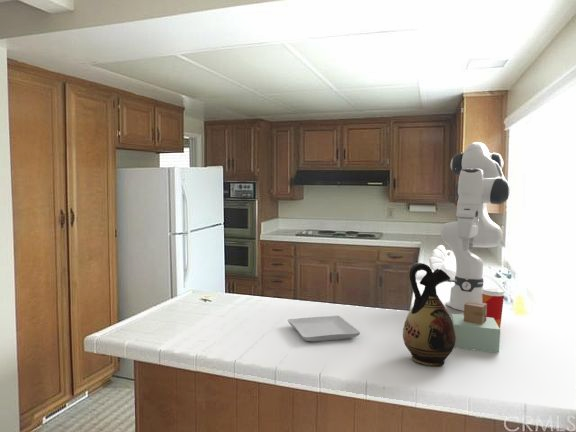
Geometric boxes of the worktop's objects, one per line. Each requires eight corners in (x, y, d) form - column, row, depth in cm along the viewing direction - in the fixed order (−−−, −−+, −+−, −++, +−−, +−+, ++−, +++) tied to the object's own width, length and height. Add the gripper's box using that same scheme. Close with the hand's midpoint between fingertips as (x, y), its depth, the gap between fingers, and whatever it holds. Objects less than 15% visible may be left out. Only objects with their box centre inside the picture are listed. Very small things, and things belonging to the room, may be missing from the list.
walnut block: (468, 317, 157) (468, 300, 157) (486, 320, 153) (487, 303, 153) (463, 321, 152) (464, 304, 152) (482, 324, 149) (483, 307, 148)
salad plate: (303, 346, 147) (303, 336, 147) (286, 327, 168) (286, 318, 167) (361, 341, 153) (362, 332, 153) (338, 323, 173) (338, 315, 173)
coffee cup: (484, 323, 176) (486, 286, 175) (506, 328, 170) (508, 290, 170) (476, 328, 170) (477, 289, 169) (498, 333, 164) (500, 293, 164)
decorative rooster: (460, 277, 275) (462, 237, 273) (472, 282, 259) (474, 240, 257) (421, 276, 273) (423, 236, 271) (431, 282, 257) (433, 239, 256)
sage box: (450, 335, 162) (451, 313, 161) (492, 339, 158) (493, 317, 157) (453, 348, 148) (454, 324, 148) (498, 353, 144) (500, 329, 144)
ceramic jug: (442, 351, 144) (446, 260, 142) (463, 370, 129) (467, 268, 127) (391, 351, 144) (394, 259, 142) (405, 370, 128) (409, 267, 126)
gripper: (465, 210, 173) (464, 246, 174) (455, 212, 156) (453, 251, 156) (483, 211, 170) (481, 247, 171) (474, 213, 152) (472, 253, 153)
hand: (467, 249), depth 163 cm, fingers open, 8 cm apart
